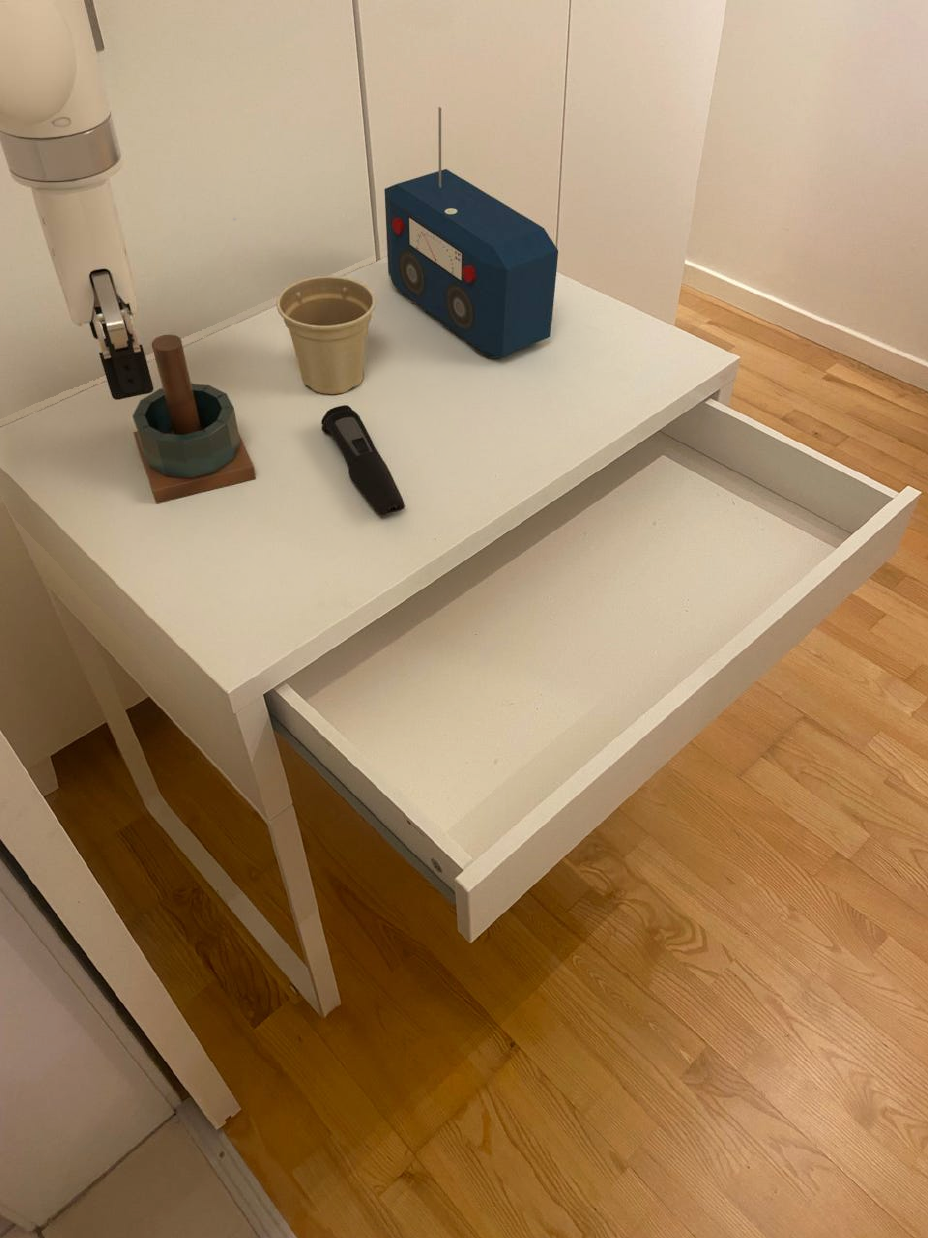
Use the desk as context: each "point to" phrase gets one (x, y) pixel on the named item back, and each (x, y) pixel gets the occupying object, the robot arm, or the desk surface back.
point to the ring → (193, 449)
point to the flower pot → (328, 330)
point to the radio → (471, 261)
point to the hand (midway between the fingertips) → (122, 362)
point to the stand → (187, 428)
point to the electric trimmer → (363, 460)
